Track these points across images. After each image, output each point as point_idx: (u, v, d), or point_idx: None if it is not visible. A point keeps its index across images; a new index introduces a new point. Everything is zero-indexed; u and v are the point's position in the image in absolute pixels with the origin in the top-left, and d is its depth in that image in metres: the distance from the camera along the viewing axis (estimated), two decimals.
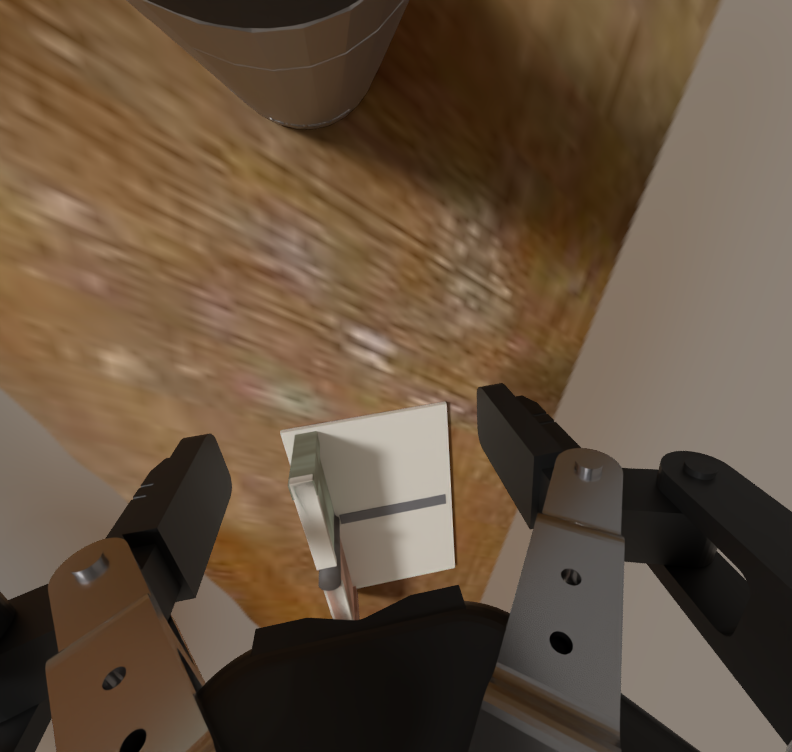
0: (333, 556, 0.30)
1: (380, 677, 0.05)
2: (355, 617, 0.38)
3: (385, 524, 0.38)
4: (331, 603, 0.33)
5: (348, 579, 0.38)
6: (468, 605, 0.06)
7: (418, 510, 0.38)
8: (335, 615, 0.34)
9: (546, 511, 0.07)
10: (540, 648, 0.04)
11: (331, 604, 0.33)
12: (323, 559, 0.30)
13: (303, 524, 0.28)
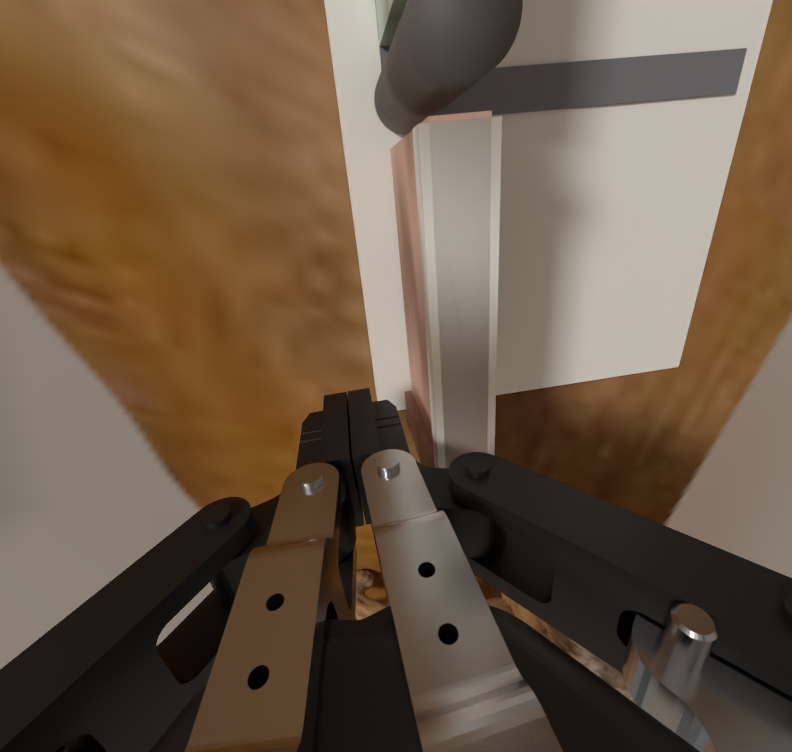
0: None
1: (380, 677, 0.05)
2: None
3: (556, 158, 0.13)
4: (438, 236, 0.08)
5: None
6: None
7: (656, 110, 0.13)
8: (444, 318, 0.09)
9: (375, 523, 0.07)
10: (437, 652, 0.04)
11: (437, 242, 0.08)
12: None
13: None
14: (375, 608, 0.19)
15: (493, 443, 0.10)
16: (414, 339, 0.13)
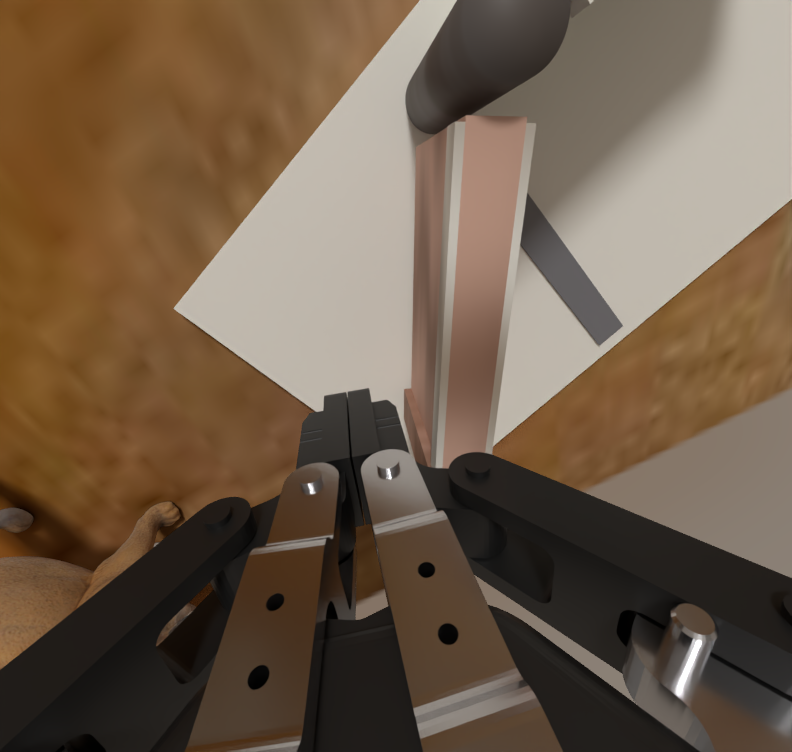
0: None
1: (380, 677, 0.05)
2: None
3: None
4: (462, 234, 0.08)
5: None
6: None
7: (559, 305, 0.15)
8: (458, 315, 0.09)
9: (375, 523, 0.07)
10: (437, 652, 0.04)
11: (460, 240, 0.08)
12: None
13: None
14: None
15: (491, 445, 0.11)
16: (421, 337, 0.13)
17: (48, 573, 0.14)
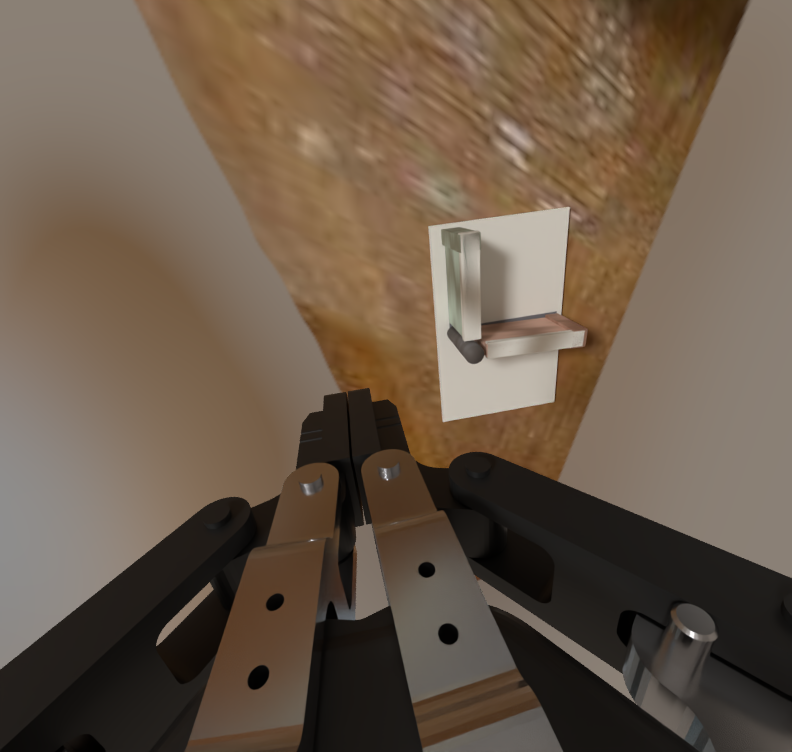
0: (480, 326, 0.35)
1: (380, 677, 0.05)
2: (560, 326, 0.38)
3: None
4: (507, 353, 0.36)
5: (521, 324, 0.40)
6: None
7: None
8: (525, 350, 0.36)
9: (376, 523, 0.07)
10: (437, 652, 0.04)
11: (508, 353, 0.36)
12: (471, 328, 0.34)
13: (463, 283, 0.33)
14: None
15: (564, 333, 0.36)
16: None
17: None
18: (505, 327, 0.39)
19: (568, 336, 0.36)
